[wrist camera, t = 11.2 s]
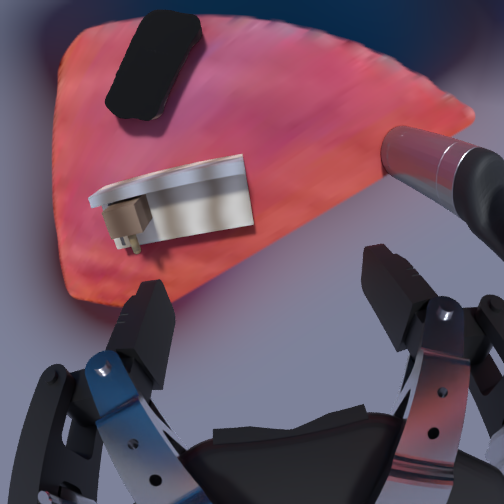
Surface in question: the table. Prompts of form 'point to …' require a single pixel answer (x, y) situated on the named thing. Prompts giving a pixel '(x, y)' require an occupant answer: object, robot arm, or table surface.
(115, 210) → the brown block with peg
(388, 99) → the table surface
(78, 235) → the table surface
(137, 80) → the black sponge
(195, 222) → the grey flat tray
